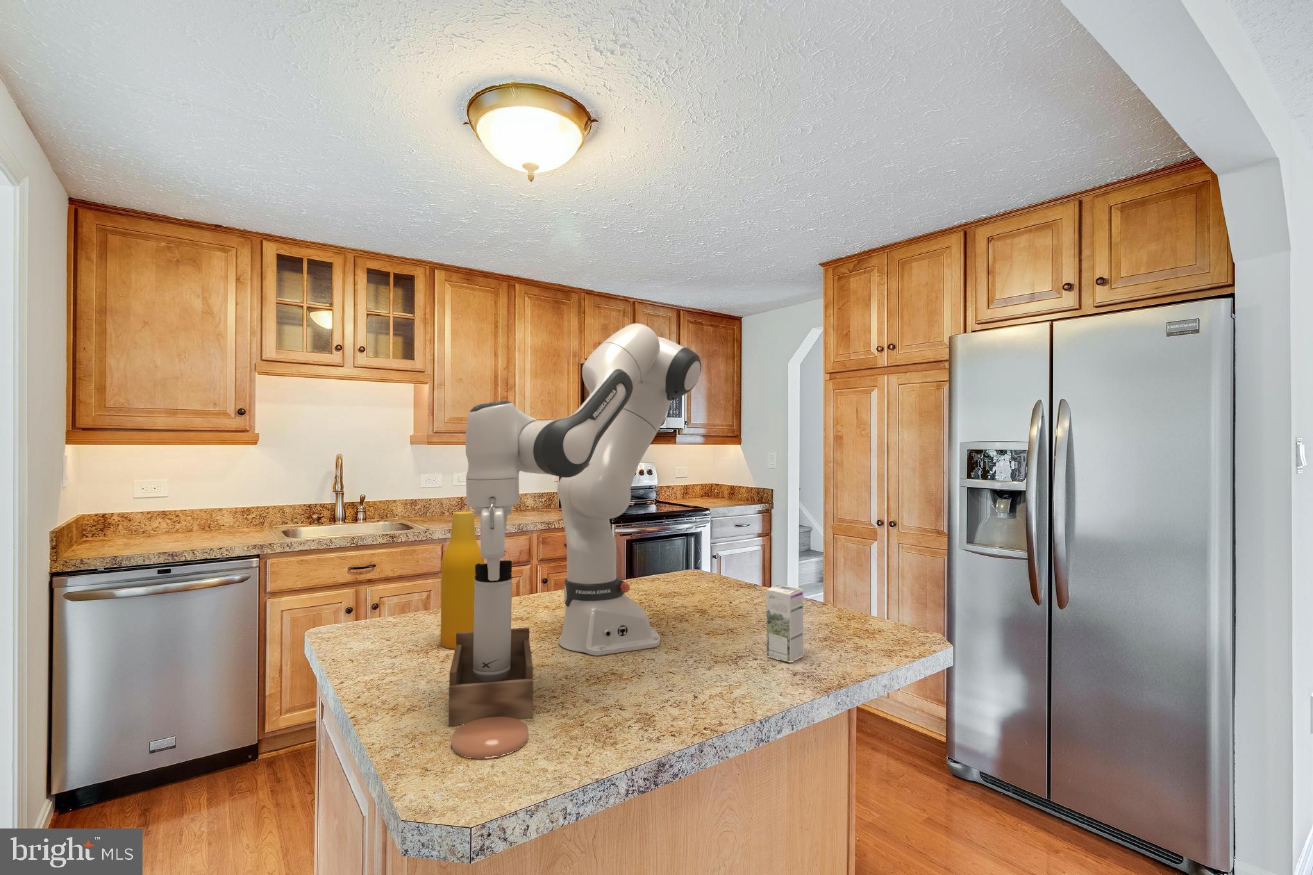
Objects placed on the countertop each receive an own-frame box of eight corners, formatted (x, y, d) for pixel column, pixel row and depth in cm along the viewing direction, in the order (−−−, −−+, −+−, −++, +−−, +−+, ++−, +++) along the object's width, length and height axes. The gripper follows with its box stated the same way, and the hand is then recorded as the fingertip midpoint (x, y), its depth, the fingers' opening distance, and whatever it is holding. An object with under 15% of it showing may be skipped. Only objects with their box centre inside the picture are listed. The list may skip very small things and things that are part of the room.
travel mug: (489, 685, 103) (491, 564, 103) (465, 676, 107) (467, 559, 107) (519, 674, 108) (521, 559, 108) (495, 666, 112) (497, 554, 112)
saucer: (526, 720, 100) (526, 713, 100) (529, 754, 89) (529, 745, 89) (454, 728, 97) (454, 720, 97) (448, 763, 87) (448, 754, 87)
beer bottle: (450, 652, 132) (451, 515, 132) (433, 642, 139) (434, 512, 139) (491, 643, 138) (492, 512, 139) (472, 634, 145) (473, 509, 146)
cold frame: (528, 681, 117) (529, 627, 117) (532, 717, 101) (533, 655, 101) (456, 687, 114) (456, 632, 114) (448, 726, 98) (449, 662, 98)
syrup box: (804, 657, 130) (804, 587, 131) (789, 664, 126) (789, 592, 126) (780, 651, 134) (780, 583, 134) (765, 657, 130) (765, 588, 130)
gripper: (512, 500, 98) (513, 587, 98) (511, 489, 118) (512, 562, 118) (470, 501, 97) (472, 590, 97) (476, 490, 117) (477, 564, 117)
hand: (494, 574), depth 108 cm, fingers closed on travel mug, 6 cm apart
